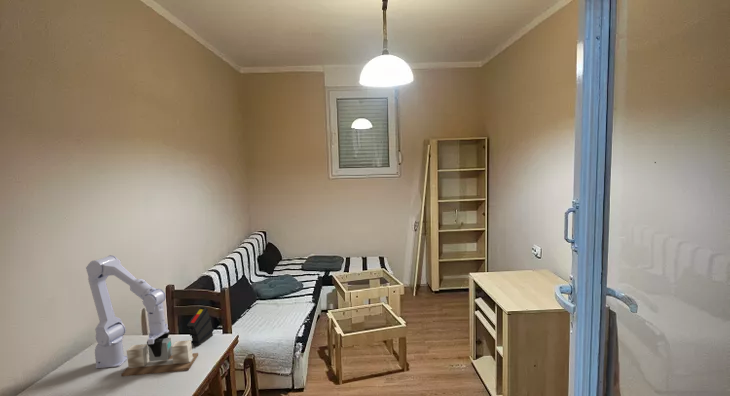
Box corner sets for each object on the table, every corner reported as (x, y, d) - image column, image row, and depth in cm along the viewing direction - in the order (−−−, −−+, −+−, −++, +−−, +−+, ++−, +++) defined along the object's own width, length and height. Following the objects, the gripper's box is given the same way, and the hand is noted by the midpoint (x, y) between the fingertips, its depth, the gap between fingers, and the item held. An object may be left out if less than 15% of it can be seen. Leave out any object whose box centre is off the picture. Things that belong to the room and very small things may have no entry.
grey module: (149, 361, 161) (147, 344, 160) (154, 355, 165) (152, 339, 165) (168, 359, 161) (166, 342, 161) (172, 354, 166) (170, 337, 165)
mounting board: (121, 376, 157) (119, 355, 156) (136, 360, 169) (133, 341, 168) (188, 370, 159) (186, 349, 158) (198, 355, 171) (196, 336, 170)
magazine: (217, 329, 192) (206, 306, 184) (203, 352, 181) (190, 329, 174) (210, 328, 193) (199, 306, 185) (195, 352, 182) (183, 329, 175)
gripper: (159, 327, 155) (163, 361, 156) (174, 312, 169) (177, 344, 171) (140, 329, 154) (144, 363, 156) (156, 314, 169) (159, 345, 170)
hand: (160, 353), depth 163 cm, fingers closed on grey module, 4 cm apart
